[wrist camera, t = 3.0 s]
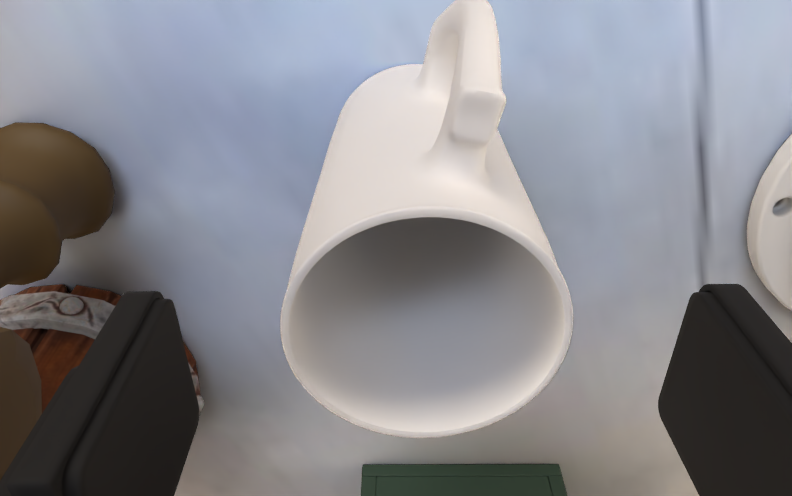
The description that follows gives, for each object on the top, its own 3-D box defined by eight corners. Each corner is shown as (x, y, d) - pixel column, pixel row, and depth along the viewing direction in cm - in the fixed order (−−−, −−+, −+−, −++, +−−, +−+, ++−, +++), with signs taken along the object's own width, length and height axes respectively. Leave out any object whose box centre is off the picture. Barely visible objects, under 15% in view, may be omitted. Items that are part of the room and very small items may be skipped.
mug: (471, 229, 26) (519, 455, 16) (317, 200, 26) (265, 417, 15) (550, -17, 21) (693, 88, 11) (360, -62, 20) (324, 6, 10)
